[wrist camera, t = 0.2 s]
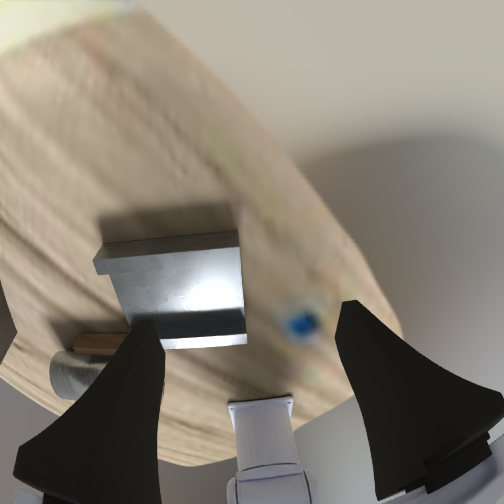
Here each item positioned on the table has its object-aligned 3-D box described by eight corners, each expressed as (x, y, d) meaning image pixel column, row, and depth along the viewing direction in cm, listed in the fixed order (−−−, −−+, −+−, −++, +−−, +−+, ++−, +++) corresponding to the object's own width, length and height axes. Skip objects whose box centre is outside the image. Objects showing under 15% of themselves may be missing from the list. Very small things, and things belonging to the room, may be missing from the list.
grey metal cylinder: (151, 341, 25) (142, 388, 20) (165, 375, 27) (160, 417, 23) (60, 340, 24) (43, 378, 19) (80, 371, 27) (68, 408, 22)
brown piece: (164, 383, 28) (163, 398, 26) (109, 381, 28) (106, 395, 26) (141, 333, 24) (137, 349, 22) (78, 333, 23) (72, 347, 22)
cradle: (245, 324, 24) (247, 343, 22) (135, 331, 23) (130, 349, 22) (237, 230, 19) (239, 246, 18) (102, 244, 19) (92, 260, 17)
